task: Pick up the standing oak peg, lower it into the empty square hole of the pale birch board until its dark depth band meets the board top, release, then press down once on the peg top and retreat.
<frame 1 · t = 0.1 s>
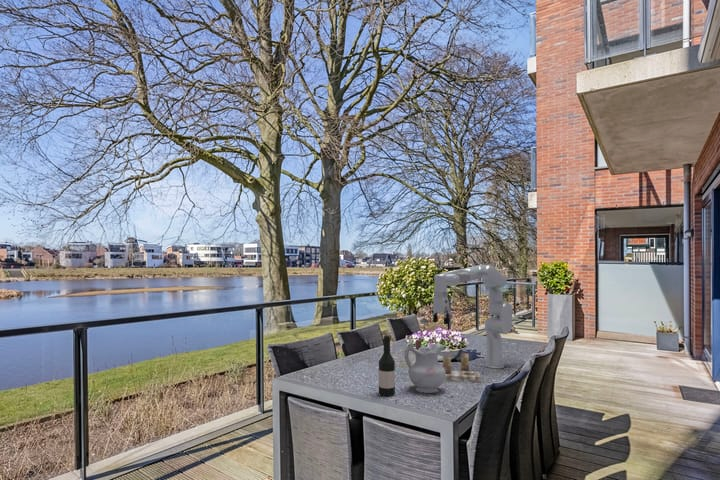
hand: (440, 323, 257), 31 cm above the table, tool pointing down, fingers open, 9 cm apart
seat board: (458, 378, 249), on the table
ceramic pitcher: (424, 390, 227), on the table
oak peg: (465, 374, 259), on the table
wine bottle: (386, 394, 219), on the table
brown blocky piece: (422, 370, 269), on the table
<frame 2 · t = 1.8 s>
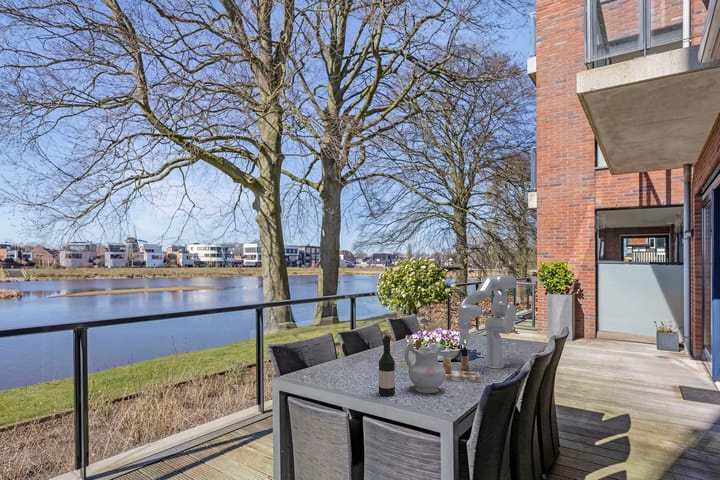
hand: (464, 354, 259), 12 cm above the table, tool pointing down, fingers open, 9 cm apart
nothing on the table moved.
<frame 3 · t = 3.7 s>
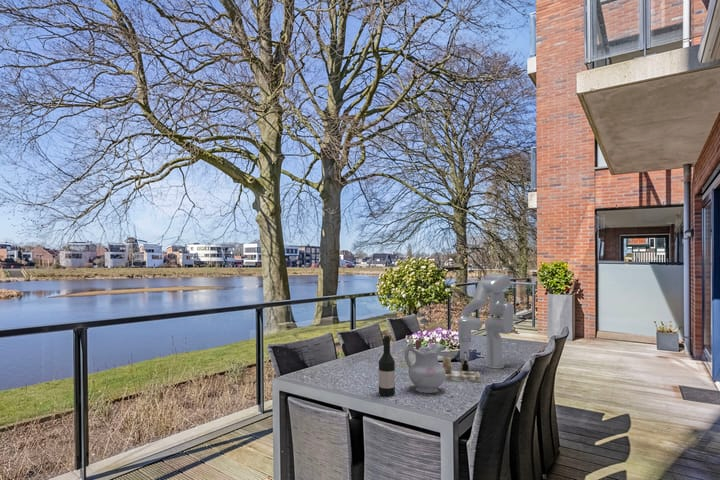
hand: (465, 369, 259), 3 cm above the table, tool pointing down, fingers closed on oak peg, 4 cm apart
oak peg: (465, 374, 259), on the table, touching gripper
everything else where it was.
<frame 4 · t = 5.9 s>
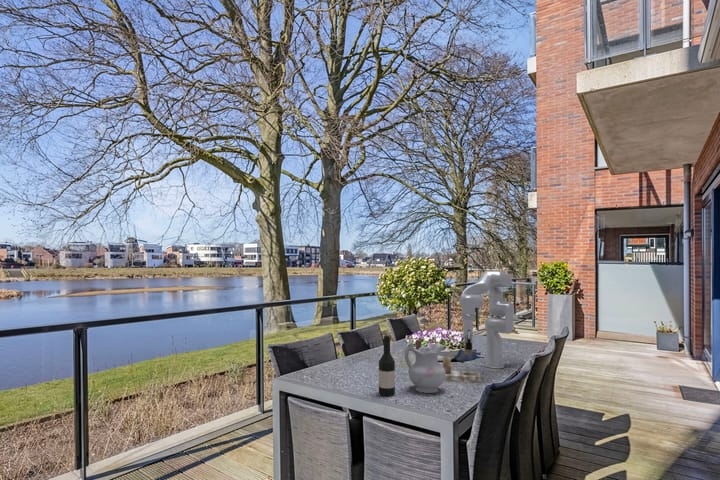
hand: (468, 348, 249), 18 cm above the table, tool pointing down, fingers closed on oak peg, 4 cm apart
oak peg: (468, 353, 248), point 15 cm above the table, touching gripper
everything else where it was.
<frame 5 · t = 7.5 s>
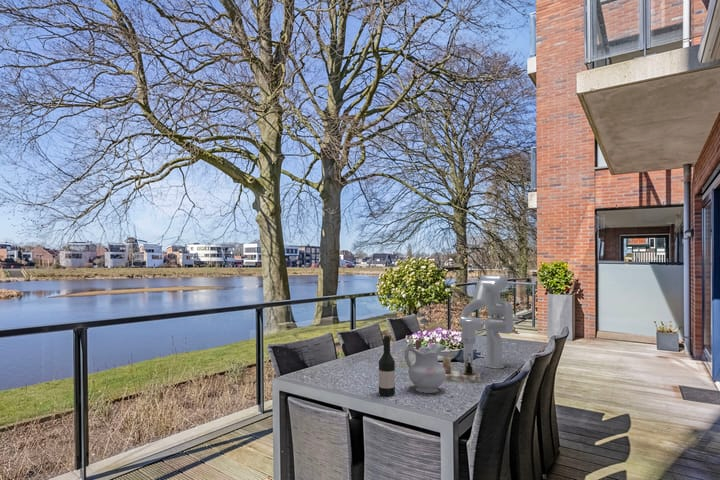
hand: (468, 371, 248), 4 cm above the table, tool pointing down, fingers closed on oak peg, 4 cm apart
oak peg: (468, 376, 248), point 1 cm above the table, touching gripper
everything else where it was.
when the fingers open (4 cm above the table, at t = 8.6 s): oak peg stays where it is, resting in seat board.
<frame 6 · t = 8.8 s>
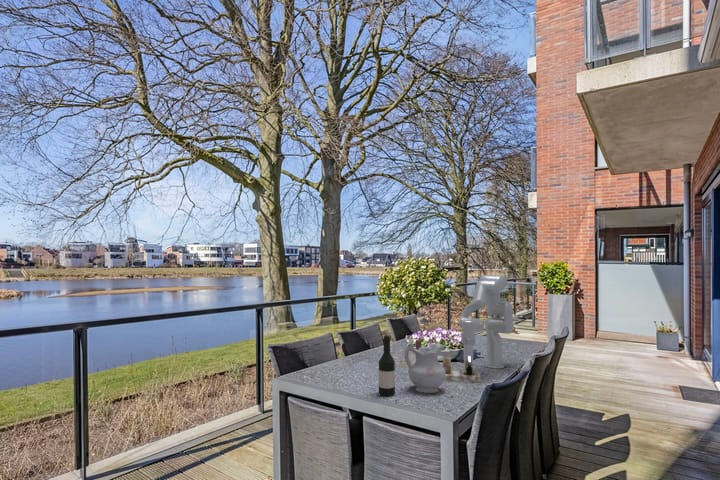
hand: (468, 372, 248), 4 cm above the table, tool pointing down, fingers open, 6 cm apart
oak peg: (468, 379, 248), resting in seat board
everything else where it was.
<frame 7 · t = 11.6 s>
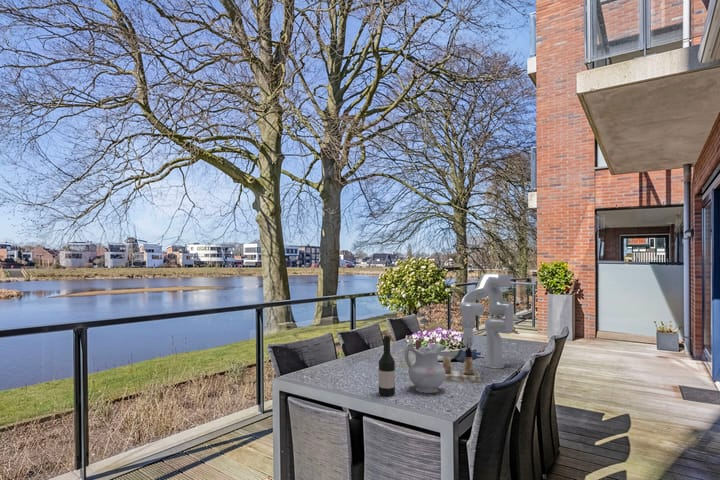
hand: (468, 356, 248), 13 cm above the table, tool pointing down, fingers closed
nothing on the table moved.
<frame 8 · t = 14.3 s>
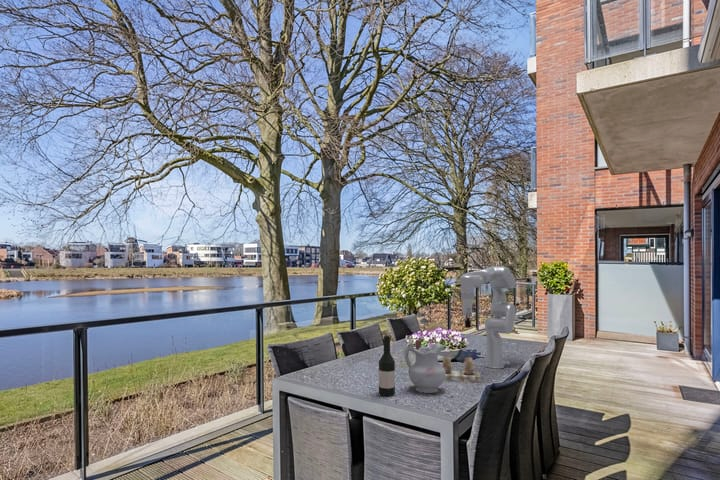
hand: (467, 327, 254), 29 cm above the table, tool pointing down, fingers closed
nothing on the table moved.
at the end: oak peg 0.1 cm from the target spot on the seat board, point 0.0 cm above the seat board's base; oak peg tilted 0°; the gripper is holding nothing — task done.
